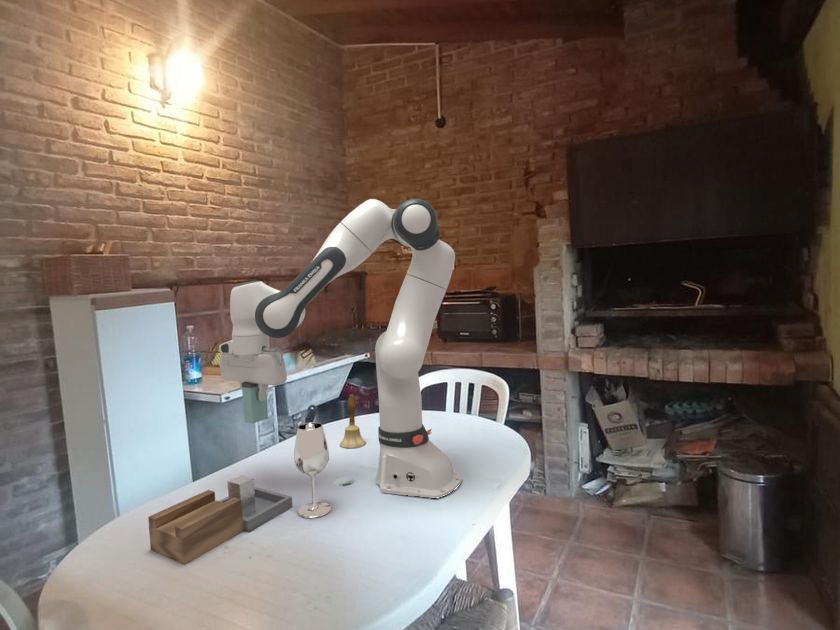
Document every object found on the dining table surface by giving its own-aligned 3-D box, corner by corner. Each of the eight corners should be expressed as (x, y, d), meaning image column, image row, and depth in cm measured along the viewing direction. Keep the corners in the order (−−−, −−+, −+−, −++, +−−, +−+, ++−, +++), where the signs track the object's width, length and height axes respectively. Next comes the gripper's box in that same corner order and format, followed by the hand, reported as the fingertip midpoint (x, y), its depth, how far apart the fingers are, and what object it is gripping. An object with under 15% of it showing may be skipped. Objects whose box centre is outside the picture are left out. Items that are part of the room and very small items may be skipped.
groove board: (243, 530, 110) (241, 499, 109) (185, 564, 98) (182, 529, 97) (210, 519, 116) (208, 489, 115) (150, 549, 104) (147, 516, 103)
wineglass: (302, 522, 113) (297, 433, 111) (293, 508, 120) (288, 424, 118) (336, 513, 117) (331, 427, 115) (326, 500, 123) (321, 419, 122)
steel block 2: (241, 519, 114) (255, 511, 117) (240, 502, 113) (254, 495, 117) (229, 515, 116) (243, 508, 119) (228, 498, 116) (242, 491, 119)
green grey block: (259, 416, 134) (257, 379, 133) (268, 418, 132) (265, 379, 131) (244, 422, 129) (241, 383, 128) (252, 423, 128) (250, 384, 127)
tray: (292, 506, 120) (291, 496, 120) (248, 532, 109) (247, 521, 109) (251, 495, 127) (250, 485, 127) (205, 518, 116) (205, 507, 116)
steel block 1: (254, 494, 117) (253, 477, 117) (240, 502, 114) (239, 484, 113) (242, 491, 119) (241, 474, 119) (228, 498, 116) (227, 481, 115)
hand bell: (352, 438, 168) (350, 390, 167) (371, 442, 164) (369, 393, 162) (334, 445, 162) (331, 396, 160) (353, 450, 157) (351, 399, 155)
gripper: (290, 345, 127) (294, 400, 128) (233, 342, 137) (237, 393, 138) (271, 349, 121) (275, 406, 122) (214, 345, 131) (217, 398, 132)
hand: (254, 399), depth 130 cm, fingers closed on green grey block, 3 cm apart
